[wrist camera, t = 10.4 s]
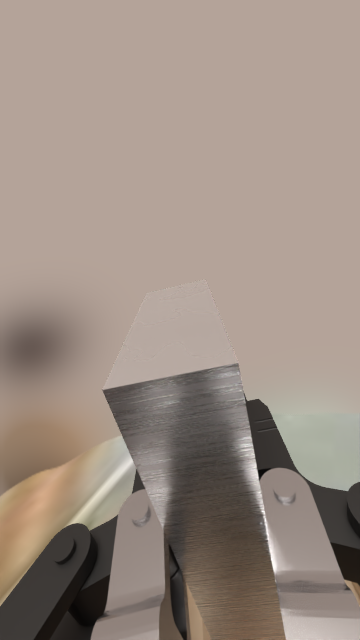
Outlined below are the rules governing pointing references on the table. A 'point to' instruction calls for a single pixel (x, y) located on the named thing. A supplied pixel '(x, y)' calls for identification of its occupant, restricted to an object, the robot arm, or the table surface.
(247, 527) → the panel
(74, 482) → the table surface
